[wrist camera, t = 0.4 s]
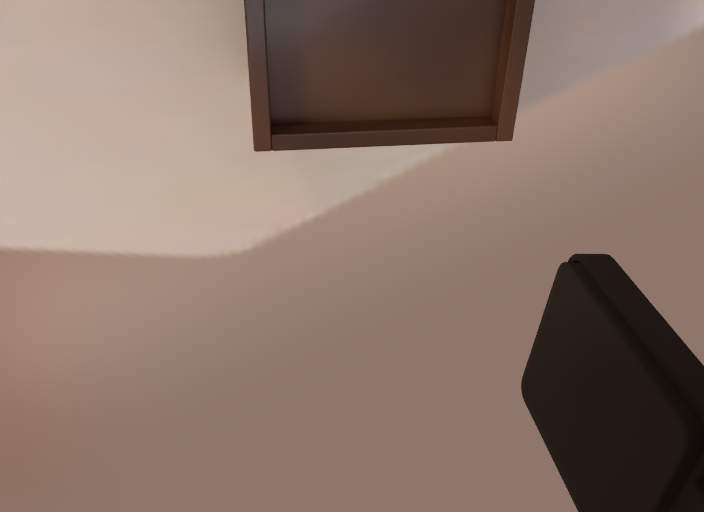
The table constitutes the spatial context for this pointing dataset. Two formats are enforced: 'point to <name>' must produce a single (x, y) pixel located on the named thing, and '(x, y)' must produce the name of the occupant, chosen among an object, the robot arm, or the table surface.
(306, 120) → the rack
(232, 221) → the table surface
